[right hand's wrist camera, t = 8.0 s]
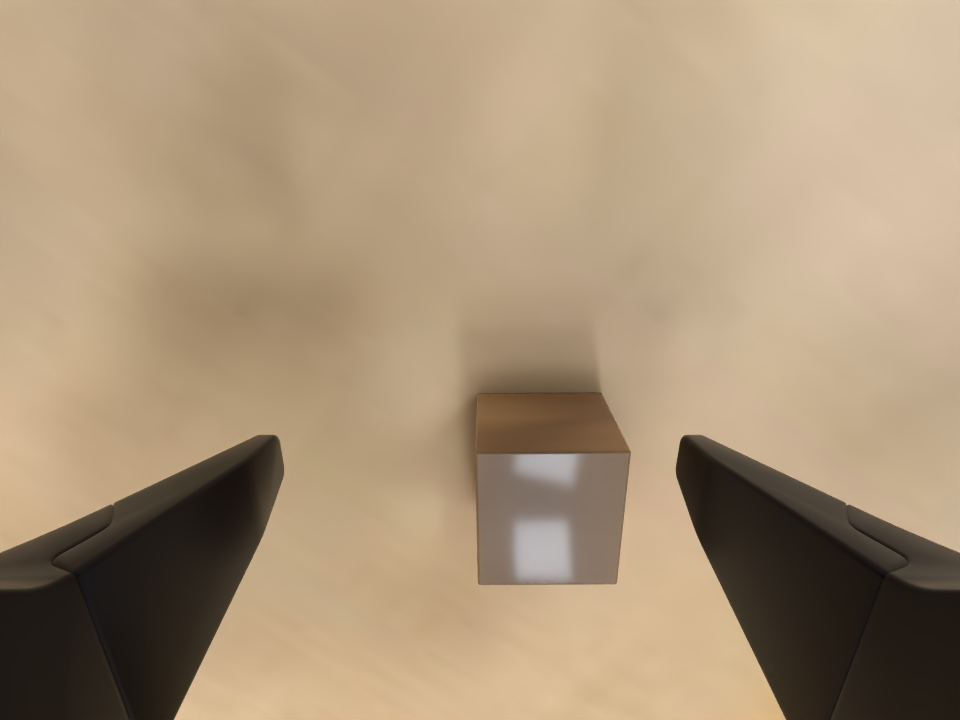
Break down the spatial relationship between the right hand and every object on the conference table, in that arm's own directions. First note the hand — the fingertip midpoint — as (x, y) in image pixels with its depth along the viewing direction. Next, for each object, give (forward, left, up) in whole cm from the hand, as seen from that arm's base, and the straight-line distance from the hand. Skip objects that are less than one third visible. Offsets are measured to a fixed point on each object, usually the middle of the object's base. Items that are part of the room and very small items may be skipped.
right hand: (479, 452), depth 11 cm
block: (-4, -3, -7) cm, 9 cm away
